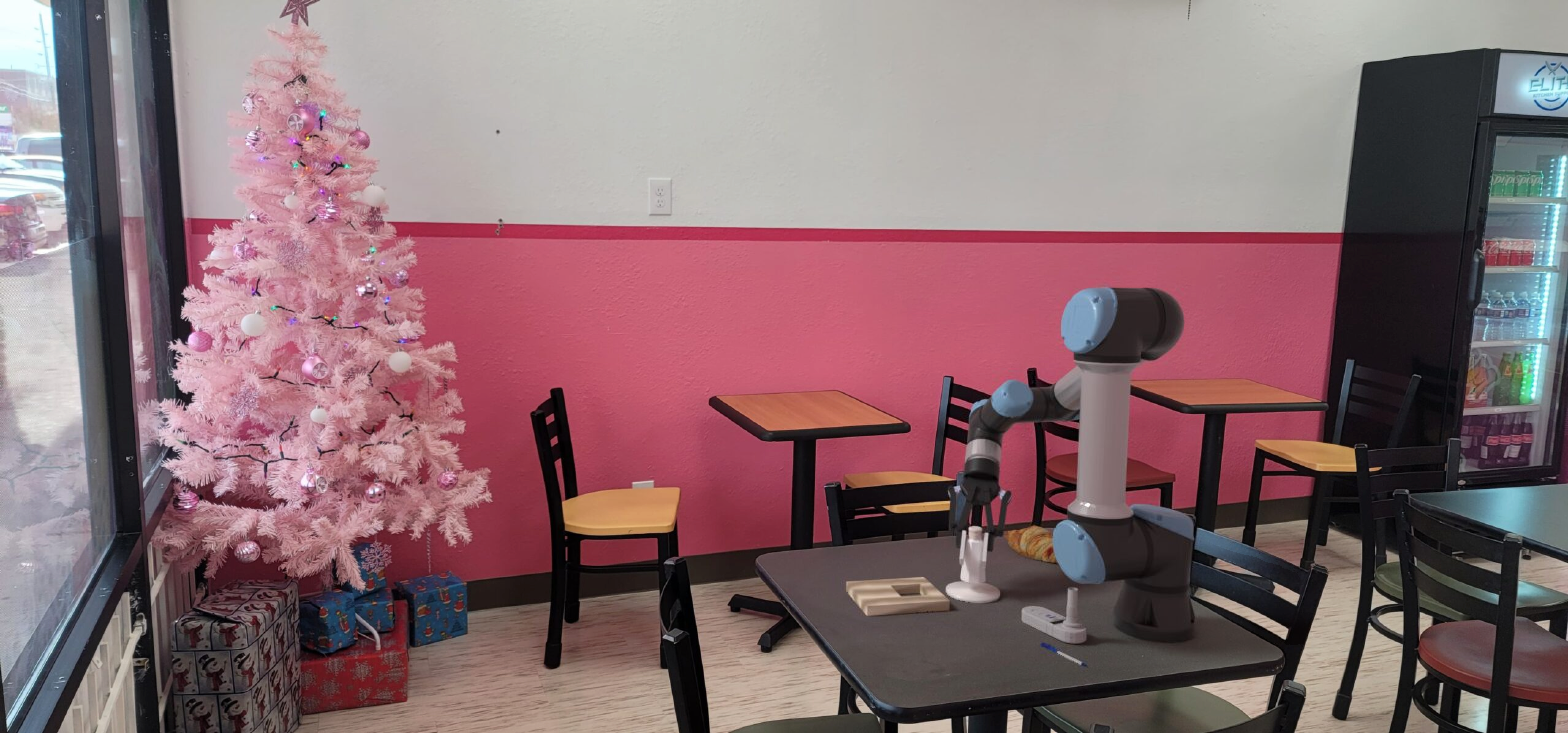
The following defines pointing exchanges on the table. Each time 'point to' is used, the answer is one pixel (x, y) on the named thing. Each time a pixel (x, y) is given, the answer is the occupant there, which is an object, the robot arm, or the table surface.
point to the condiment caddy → (896, 596)
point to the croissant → (1032, 543)
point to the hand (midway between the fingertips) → (972, 563)
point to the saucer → (972, 592)
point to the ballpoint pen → (1062, 653)
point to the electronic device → (1058, 620)
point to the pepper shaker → (973, 557)
